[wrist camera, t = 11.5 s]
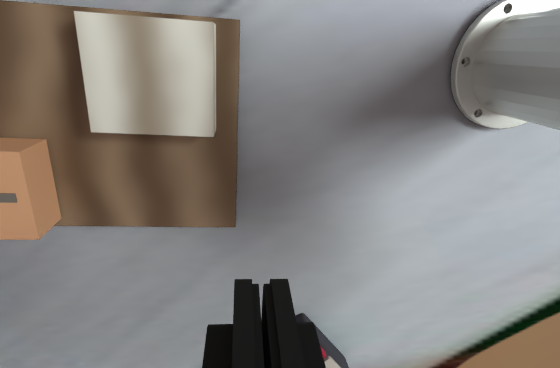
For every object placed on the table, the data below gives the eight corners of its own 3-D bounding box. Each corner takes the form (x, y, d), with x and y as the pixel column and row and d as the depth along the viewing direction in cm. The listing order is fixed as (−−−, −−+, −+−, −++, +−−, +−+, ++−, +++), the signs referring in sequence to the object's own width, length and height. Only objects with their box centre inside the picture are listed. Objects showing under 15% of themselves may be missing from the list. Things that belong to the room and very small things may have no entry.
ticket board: (239, 21, 30) (239, 16, 26) (235, 220, 37) (234, 242, 33) (-117, -8, 27) (-184, -18, 23) (-45, 217, 34) (-84, 241, 30)
